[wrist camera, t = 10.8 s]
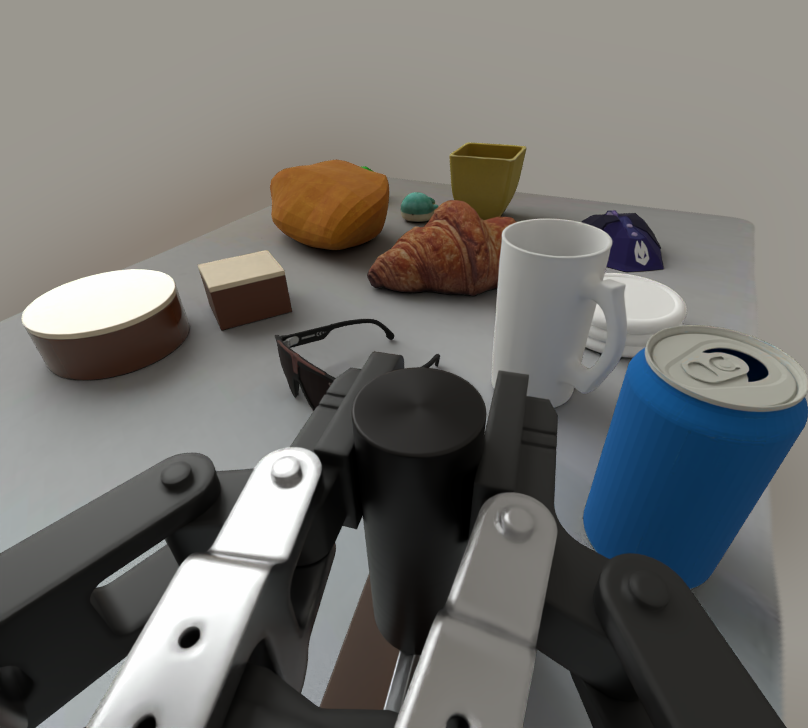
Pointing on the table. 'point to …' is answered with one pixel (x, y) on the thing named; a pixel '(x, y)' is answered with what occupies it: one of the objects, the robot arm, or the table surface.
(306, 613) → the robot arm
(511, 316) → the mug
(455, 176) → the flower pot
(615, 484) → the beverage can
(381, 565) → the knife
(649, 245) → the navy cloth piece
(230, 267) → the cake slice
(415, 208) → the whale figurine
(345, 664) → the knife block
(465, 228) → the pastry
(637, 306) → the coaster
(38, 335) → the cake
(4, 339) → the table surface
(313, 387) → the sunglasses
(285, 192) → the bread
